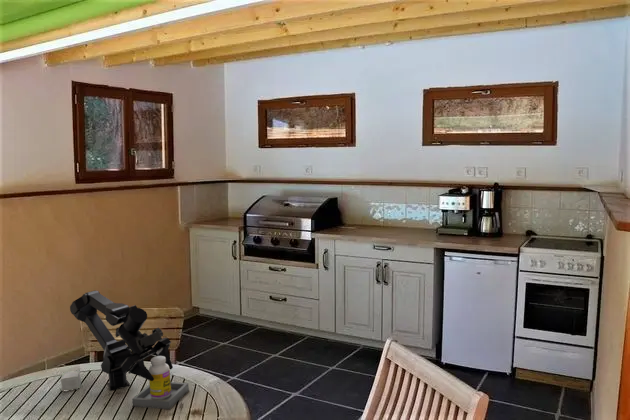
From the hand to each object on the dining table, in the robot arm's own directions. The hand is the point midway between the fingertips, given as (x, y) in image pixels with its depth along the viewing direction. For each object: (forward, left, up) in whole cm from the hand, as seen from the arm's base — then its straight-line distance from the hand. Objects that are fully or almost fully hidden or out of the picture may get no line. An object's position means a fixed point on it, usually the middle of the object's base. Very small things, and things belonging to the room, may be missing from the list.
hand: (162, 374), depth 171 cm
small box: (-29, -25, -9) cm, 39 cm away
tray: (-1, -1, -8) cm, 8 cm away
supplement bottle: (-1, -1, -8) cm, 8 cm away
